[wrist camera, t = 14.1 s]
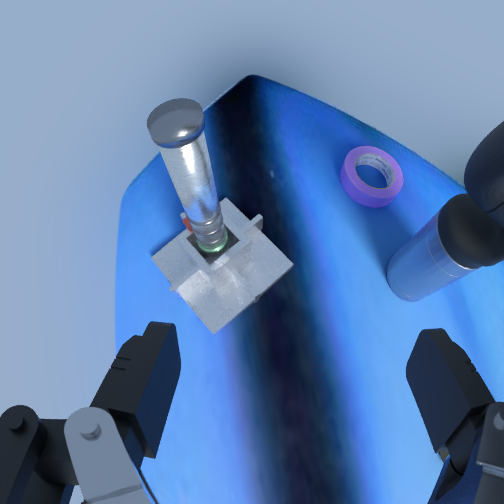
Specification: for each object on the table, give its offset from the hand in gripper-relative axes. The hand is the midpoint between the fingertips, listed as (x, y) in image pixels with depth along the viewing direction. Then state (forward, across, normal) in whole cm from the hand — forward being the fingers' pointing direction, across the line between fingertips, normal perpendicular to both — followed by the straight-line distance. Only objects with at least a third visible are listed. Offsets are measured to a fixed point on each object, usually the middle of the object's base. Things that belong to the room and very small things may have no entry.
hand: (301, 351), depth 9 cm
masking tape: (+49, -18, +3) cm, 53 cm away
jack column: (+30, +8, +9) cm, 33 cm away
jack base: (+36, +8, +15) cm, 40 cm away
